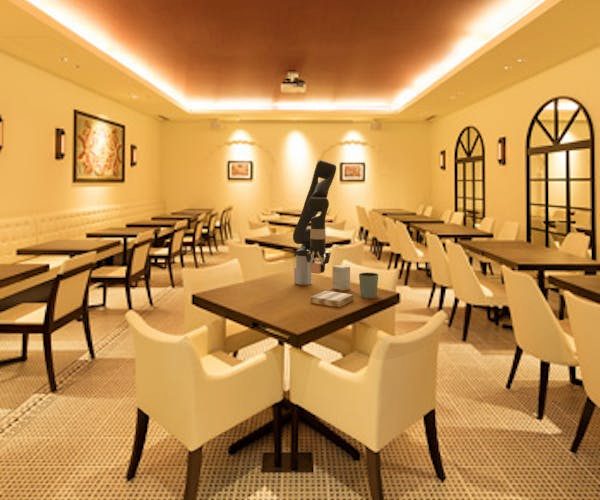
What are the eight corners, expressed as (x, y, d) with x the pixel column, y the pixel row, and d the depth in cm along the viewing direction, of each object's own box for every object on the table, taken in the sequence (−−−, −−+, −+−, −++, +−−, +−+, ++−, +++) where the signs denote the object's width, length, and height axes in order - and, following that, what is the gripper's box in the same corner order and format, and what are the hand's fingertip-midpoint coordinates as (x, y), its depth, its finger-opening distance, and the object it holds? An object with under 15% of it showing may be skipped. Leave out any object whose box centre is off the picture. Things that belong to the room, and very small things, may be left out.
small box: (350, 289, 263) (350, 266, 261) (342, 290, 259) (342, 267, 257) (340, 286, 269) (340, 264, 267) (332, 288, 265) (332, 265, 263)
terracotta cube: (310, 272, 233) (310, 262, 232) (315, 271, 237) (315, 261, 237) (319, 273, 230) (319, 263, 230) (324, 272, 235) (324, 262, 234)
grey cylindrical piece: (379, 298, 242) (380, 275, 241) (360, 298, 241) (361, 276, 240) (375, 293, 252) (375, 272, 251) (356, 294, 251) (357, 272, 250)
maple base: (310, 302, 233) (310, 296, 233) (325, 296, 247) (325, 290, 246) (339, 307, 225) (339, 301, 224) (353, 300, 238) (353, 294, 238)
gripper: (301, 237, 232) (301, 271, 235) (326, 239, 224) (326, 274, 227) (309, 236, 238) (309, 268, 241) (334, 237, 231) (333, 271, 233)
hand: (317, 271), depth 234 cm, fingers closed on terracotta cube, 5 cm apart
